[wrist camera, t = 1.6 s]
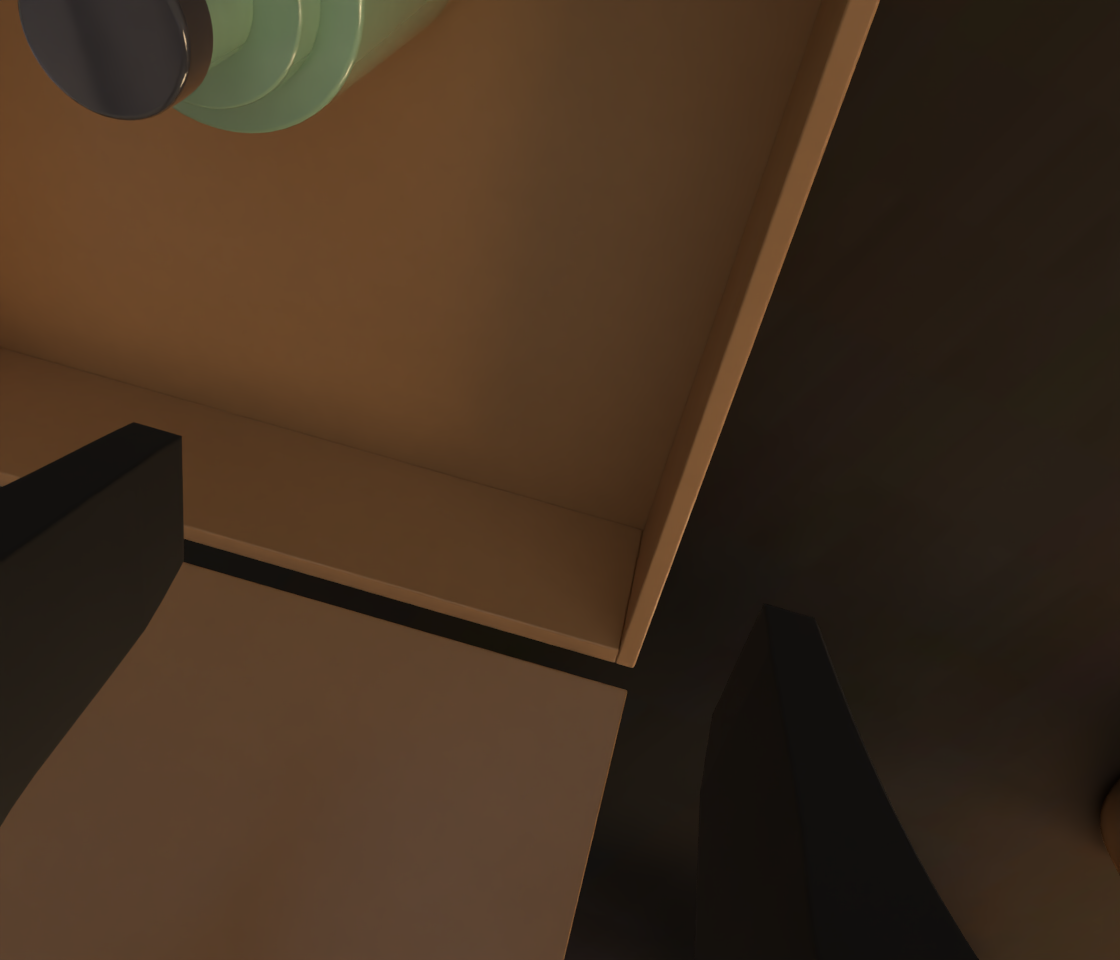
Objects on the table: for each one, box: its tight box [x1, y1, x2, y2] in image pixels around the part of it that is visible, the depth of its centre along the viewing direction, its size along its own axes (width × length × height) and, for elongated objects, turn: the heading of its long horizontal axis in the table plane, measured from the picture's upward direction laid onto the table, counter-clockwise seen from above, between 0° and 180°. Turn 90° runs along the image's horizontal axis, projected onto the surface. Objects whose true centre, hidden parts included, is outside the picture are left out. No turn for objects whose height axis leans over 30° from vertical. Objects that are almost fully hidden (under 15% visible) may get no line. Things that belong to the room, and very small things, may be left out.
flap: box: [0, 562, 627, 960], centre depth 19 cm, size 8×17×1 cm
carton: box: [0, 0, 880, 668], centre depth 18 cm, size 17×17×4 cm
